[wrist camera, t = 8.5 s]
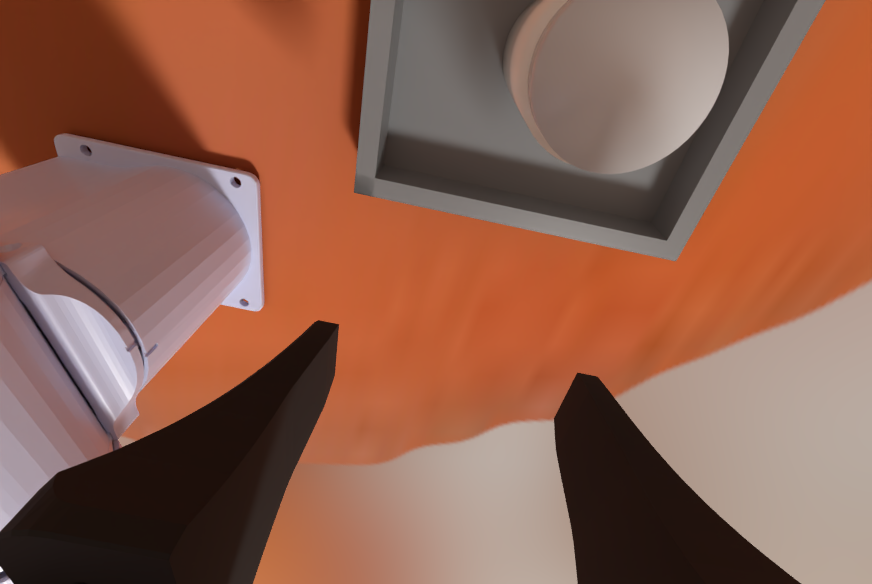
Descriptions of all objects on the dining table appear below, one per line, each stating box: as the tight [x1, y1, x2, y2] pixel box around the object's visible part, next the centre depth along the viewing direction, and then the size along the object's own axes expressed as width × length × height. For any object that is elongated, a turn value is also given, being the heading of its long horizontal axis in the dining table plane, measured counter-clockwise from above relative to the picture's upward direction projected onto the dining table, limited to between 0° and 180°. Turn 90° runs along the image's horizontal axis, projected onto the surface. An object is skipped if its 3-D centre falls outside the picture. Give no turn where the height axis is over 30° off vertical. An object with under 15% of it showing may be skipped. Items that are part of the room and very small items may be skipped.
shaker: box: [503, 0, 729, 174], centre depth 13 cm, size 4×4×8 cm
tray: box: [354, 0, 825, 261], centre depth 16 cm, size 14×12×2 cm
